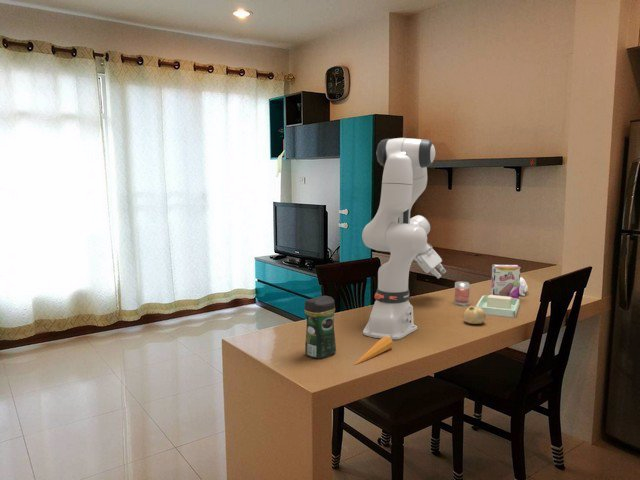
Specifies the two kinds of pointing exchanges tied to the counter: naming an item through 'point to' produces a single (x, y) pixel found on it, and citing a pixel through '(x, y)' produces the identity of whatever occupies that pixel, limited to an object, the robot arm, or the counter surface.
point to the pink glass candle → (461, 293)
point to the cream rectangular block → (499, 301)
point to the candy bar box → (505, 280)
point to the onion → (474, 315)
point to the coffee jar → (320, 327)
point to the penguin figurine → (522, 287)
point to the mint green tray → (499, 311)
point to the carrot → (377, 349)
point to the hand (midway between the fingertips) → (442, 275)
